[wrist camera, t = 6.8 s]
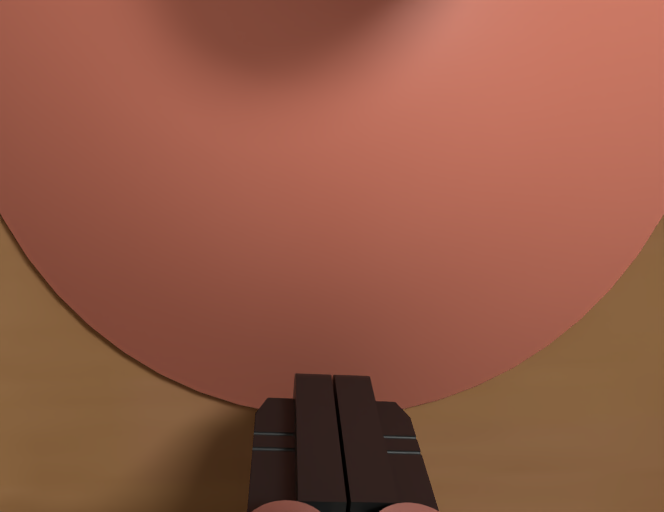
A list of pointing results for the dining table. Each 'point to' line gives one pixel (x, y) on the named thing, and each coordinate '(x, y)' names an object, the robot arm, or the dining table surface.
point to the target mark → (331, 179)
